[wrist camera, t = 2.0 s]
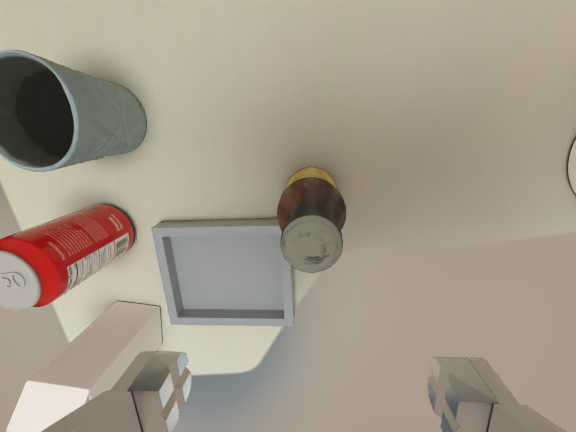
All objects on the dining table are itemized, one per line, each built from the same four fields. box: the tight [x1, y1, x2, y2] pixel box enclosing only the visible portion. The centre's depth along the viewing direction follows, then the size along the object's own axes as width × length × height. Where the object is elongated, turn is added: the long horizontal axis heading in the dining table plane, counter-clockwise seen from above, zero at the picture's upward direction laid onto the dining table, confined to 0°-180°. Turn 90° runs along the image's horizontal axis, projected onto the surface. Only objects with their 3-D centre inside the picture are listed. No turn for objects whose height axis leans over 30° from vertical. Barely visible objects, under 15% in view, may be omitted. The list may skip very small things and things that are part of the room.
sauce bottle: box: [277, 167, 346, 273], centre depth 28 cm, size 7×6×20 cm
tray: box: [151, 218, 295, 326], centre depth 40 cm, size 18×15×3 cm
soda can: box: [0, 204, 134, 311], centre depth 34 cm, size 8×8×15 cm
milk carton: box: [6, 301, 162, 432], centre depth 37 cm, size 7×7×19 cm
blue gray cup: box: [0, 50, 146, 172], centre depth 31 cm, size 10×10×12 cm
